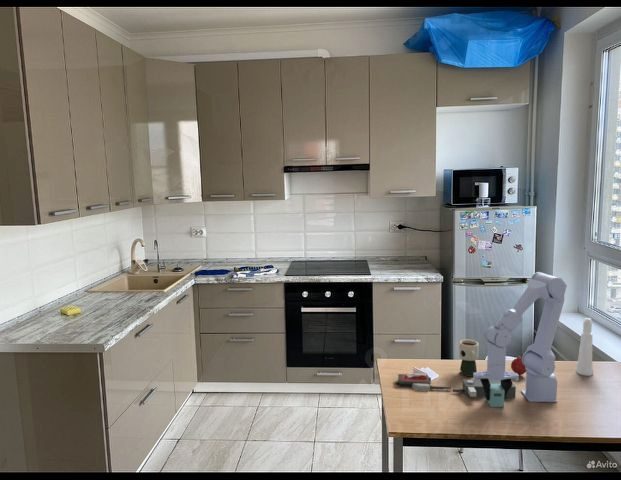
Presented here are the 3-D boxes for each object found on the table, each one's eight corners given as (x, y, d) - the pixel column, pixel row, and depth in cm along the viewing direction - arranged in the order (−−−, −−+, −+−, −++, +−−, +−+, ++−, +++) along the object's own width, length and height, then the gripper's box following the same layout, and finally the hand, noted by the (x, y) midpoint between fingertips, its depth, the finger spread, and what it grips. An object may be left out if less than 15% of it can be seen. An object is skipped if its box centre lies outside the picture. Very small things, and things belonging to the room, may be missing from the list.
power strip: (509, 390, 169) (510, 378, 168) (515, 397, 164) (515, 385, 163) (451, 389, 171) (451, 377, 170) (454, 396, 165) (455, 384, 164)
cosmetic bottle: (573, 368, 185) (576, 315, 182) (589, 369, 184) (593, 316, 180) (578, 375, 179) (582, 320, 176) (596, 376, 178) (599, 321, 174)
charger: (497, 396, 164) (497, 381, 163) (504, 407, 157) (504, 390, 156) (484, 396, 164) (484, 380, 163) (490, 407, 157) (491, 390, 156)
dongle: (472, 390, 165) (472, 385, 165) (476, 396, 161) (476, 391, 161) (467, 390, 165) (467, 385, 165) (470, 396, 161) (470, 391, 161)
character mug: (454, 368, 188) (455, 337, 186) (472, 367, 188) (473, 337, 186) (463, 380, 178) (464, 348, 176) (482, 379, 178) (483, 347, 176)
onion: (512, 371, 184) (513, 351, 183) (528, 374, 181) (529, 354, 180) (509, 376, 180) (509, 357, 179) (525, 380, 176) (526, 360, 175)
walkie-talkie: (396, 390, 172) (451, 393, 169) (396, 379, 171) (452, 381, 168) (395, 380, 180) (448, 382, 177) (395, 369, 180) (448, 371, 177)
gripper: (514, 357, 161) (512, 393, 163) (471, 356, 162) (470, 393, 164) (521, 365, 154) (520, 403, 156) (476, 365, 155) (475, 403, 157)
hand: (495, 399), depth 159 cm, fingers closed on charger, 4 cm apart
